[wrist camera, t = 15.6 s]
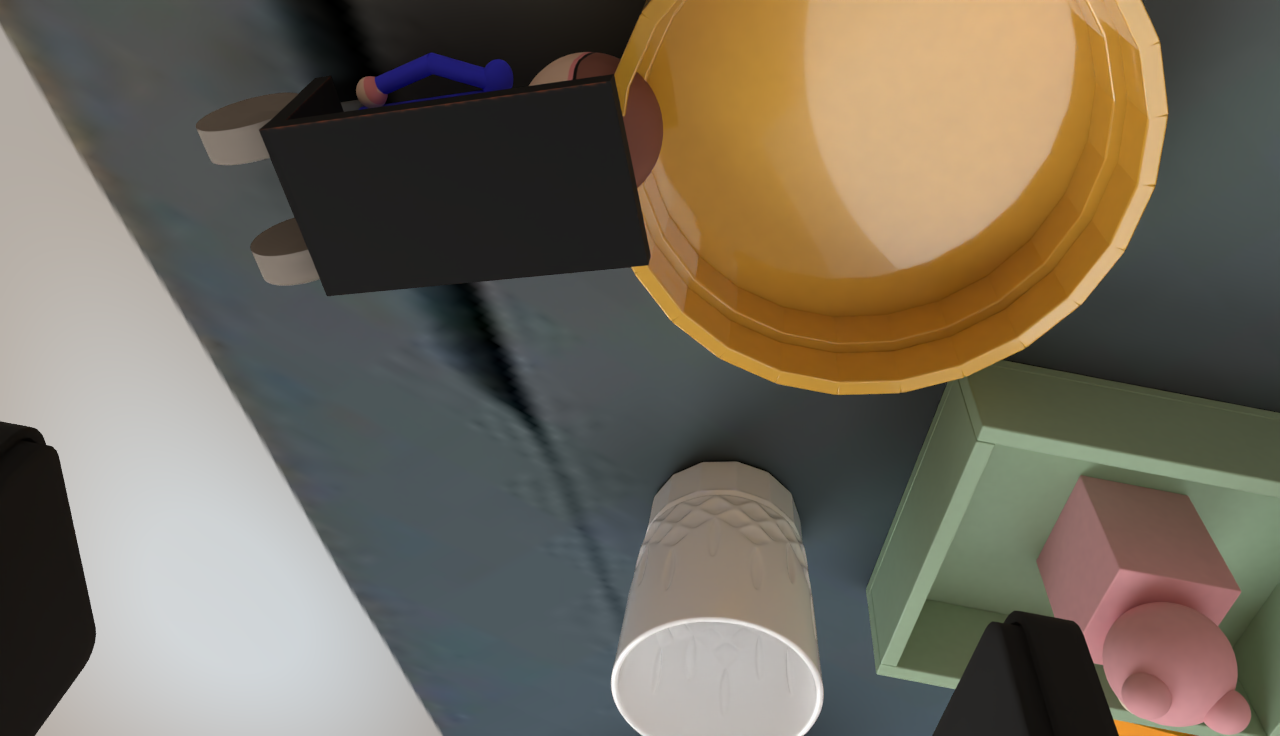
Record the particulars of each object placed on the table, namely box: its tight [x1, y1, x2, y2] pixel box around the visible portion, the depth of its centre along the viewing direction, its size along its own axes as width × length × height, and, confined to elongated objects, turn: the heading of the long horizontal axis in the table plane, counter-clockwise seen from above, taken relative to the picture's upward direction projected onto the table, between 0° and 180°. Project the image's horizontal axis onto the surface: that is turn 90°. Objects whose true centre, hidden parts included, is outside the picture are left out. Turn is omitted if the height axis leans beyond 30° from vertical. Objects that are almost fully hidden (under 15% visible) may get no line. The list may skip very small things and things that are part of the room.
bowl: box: [614, 0, 1169, 395], centre depth 34 cm, size 17×17×4 cm
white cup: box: [611, 461, 824, 736], centre depth 42 cm, size 8×8×10 cm
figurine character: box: [196, 52, 663, 296], centre depth 34 cm, size 7×8×15 cm
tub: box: [866, 360, 1280, 736], centre depth 41 cm, size 13×17×5 cm
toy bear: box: [1036, 475, 1251, 735], centre depth 39 cm, size 5×5×10 cm
